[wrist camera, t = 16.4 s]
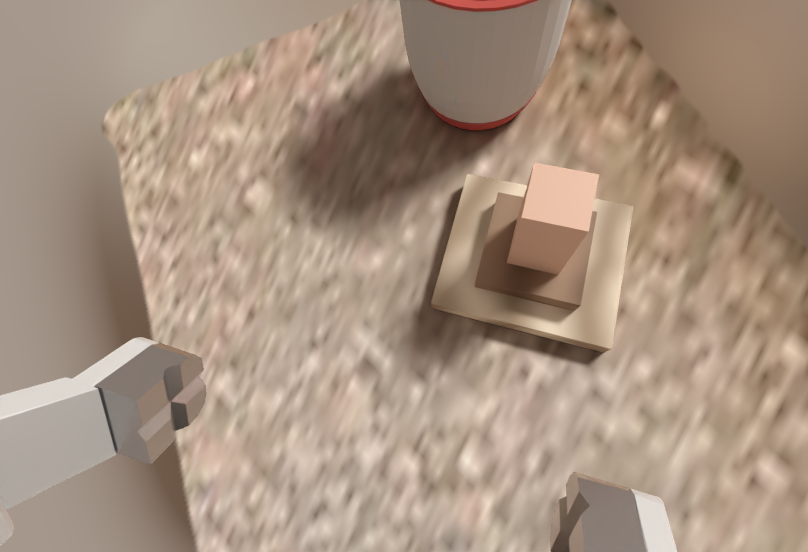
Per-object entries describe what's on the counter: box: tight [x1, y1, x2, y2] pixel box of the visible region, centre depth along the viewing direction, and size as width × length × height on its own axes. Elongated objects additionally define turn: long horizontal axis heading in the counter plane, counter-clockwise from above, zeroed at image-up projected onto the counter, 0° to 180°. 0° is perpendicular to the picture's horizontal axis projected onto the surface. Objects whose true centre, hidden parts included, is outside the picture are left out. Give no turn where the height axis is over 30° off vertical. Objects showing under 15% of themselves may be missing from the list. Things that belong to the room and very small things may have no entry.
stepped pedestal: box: [431, 174, 633, 353], centre depth 41 cm, size 16×14×4 cm
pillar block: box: [507, 163, 599, 275], centre depth 35 cm, size 4×4×9 cm
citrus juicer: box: [400, 0, 572, 130], centre depth 41 cm, size 16×17×20 cm
